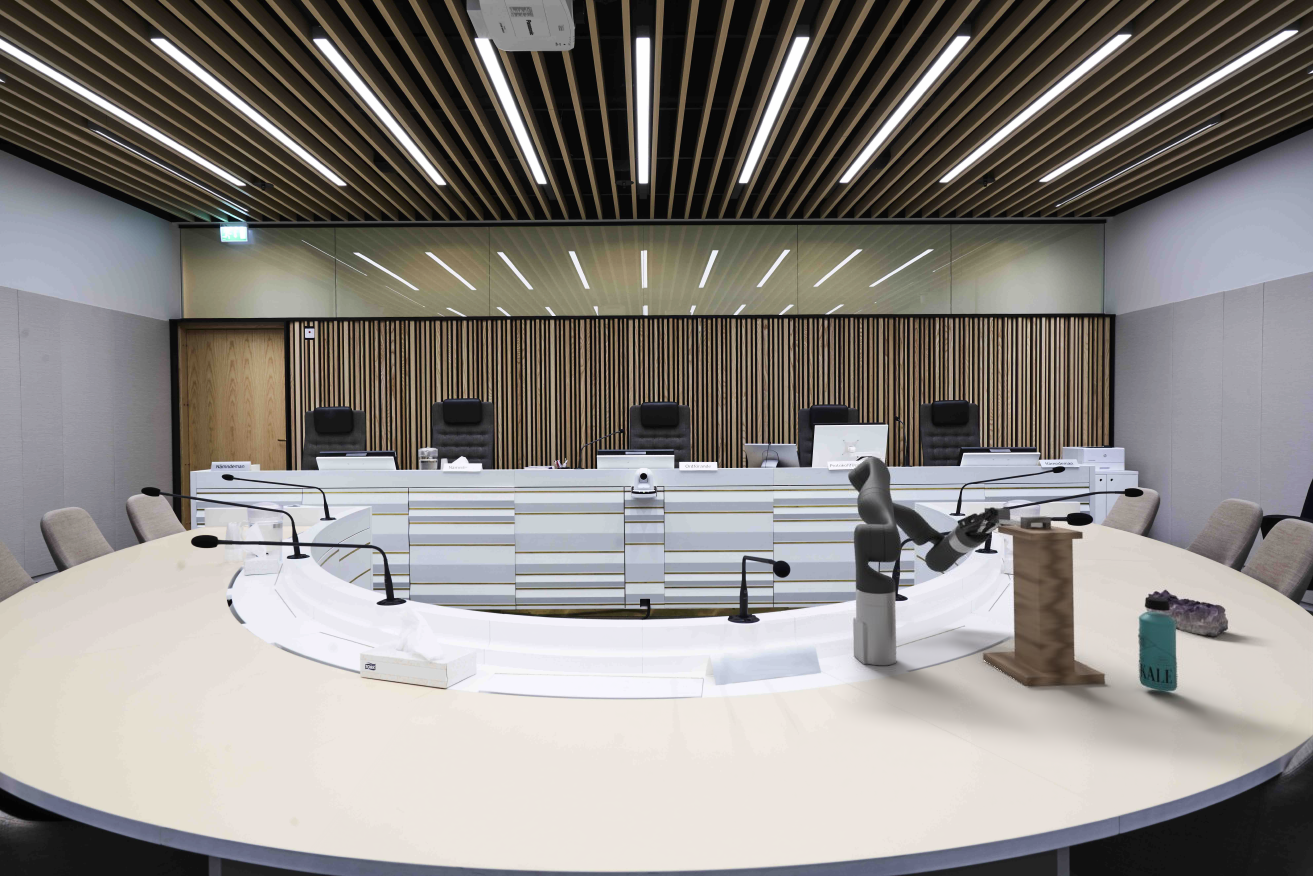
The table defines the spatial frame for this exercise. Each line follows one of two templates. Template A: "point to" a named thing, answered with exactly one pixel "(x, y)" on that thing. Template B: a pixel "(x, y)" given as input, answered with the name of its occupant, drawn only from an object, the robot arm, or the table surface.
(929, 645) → the table surface
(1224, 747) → the table surface
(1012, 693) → the table surface
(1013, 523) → the steel bar
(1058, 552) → the walnut pedestal
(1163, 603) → the beverage bottle
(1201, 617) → the geode
